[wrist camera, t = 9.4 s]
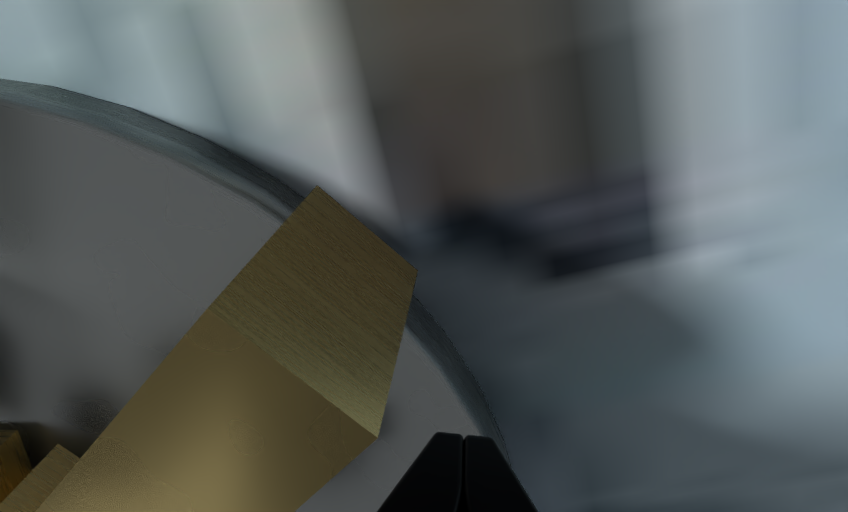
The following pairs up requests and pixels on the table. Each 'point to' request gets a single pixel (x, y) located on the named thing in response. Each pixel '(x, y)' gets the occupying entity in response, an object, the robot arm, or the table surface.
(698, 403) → the table surface
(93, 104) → the grey round tray
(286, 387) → the gold crown with post
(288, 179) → the table surface
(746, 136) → the table surface
